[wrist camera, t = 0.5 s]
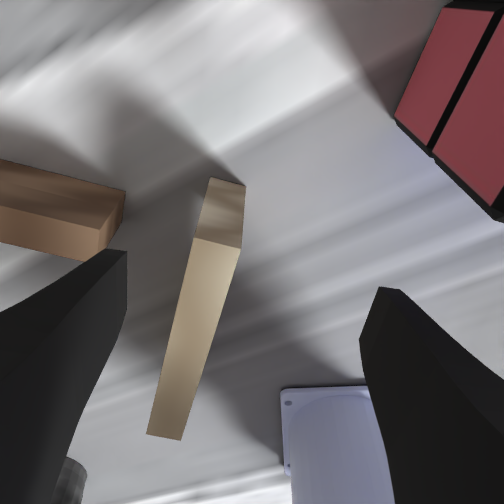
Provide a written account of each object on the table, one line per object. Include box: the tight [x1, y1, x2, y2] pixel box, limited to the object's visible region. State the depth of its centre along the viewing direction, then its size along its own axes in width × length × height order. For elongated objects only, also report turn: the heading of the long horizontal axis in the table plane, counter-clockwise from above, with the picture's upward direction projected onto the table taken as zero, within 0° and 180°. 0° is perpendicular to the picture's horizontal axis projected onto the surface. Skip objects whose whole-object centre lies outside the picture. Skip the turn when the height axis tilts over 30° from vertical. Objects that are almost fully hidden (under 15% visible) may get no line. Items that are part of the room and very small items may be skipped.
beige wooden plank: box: [146, 177, 246, 441], centre depth 21 cm, size 2×12×6 cm, turn 164°
